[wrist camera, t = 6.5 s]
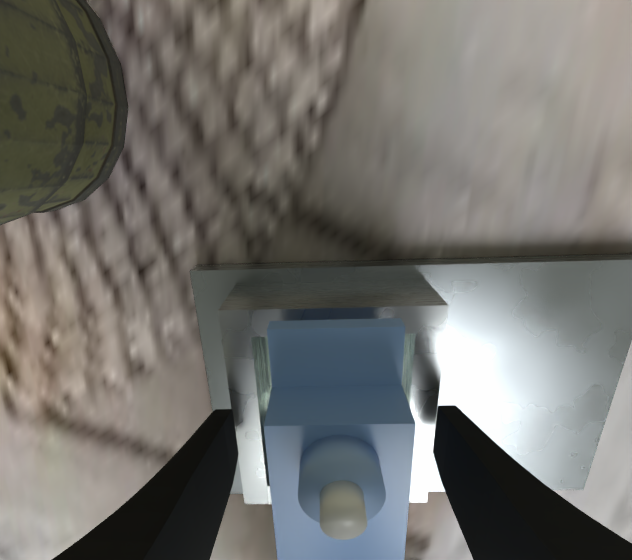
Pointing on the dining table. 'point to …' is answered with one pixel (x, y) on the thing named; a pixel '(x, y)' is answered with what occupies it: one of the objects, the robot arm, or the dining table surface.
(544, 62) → the dining table surface
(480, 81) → the dining table surface
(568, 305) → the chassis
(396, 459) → the servo
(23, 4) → the thermos
